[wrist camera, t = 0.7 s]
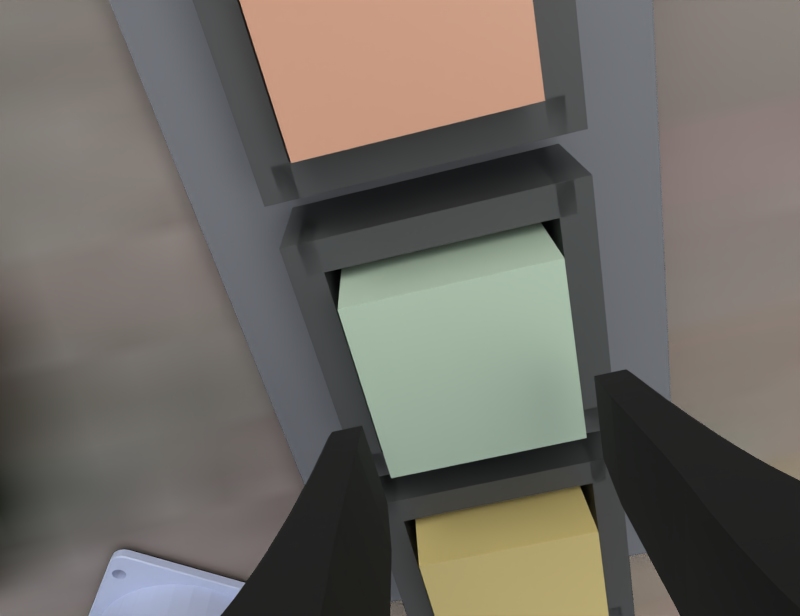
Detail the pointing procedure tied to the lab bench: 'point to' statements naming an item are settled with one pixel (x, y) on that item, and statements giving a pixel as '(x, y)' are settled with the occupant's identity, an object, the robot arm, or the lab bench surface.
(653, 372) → the button panel
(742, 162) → the lab bench surface
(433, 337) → the sage button
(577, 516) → the ochre button
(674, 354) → the lab bench surface
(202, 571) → the robot arm
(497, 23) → the terracotta button
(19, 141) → the lab bench surface
